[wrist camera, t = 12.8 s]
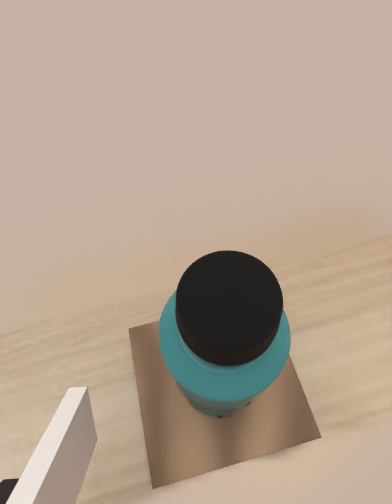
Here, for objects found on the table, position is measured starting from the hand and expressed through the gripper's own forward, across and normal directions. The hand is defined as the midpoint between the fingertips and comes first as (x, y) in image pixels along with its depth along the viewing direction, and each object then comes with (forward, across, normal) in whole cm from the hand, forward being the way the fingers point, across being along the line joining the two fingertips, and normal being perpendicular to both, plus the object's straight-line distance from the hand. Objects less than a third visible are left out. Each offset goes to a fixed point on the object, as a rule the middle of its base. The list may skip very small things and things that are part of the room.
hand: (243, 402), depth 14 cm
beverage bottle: (+13, 0, -9) cm, 16 cm away
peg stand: (+17, -1, -12) cm, 21 cm away
